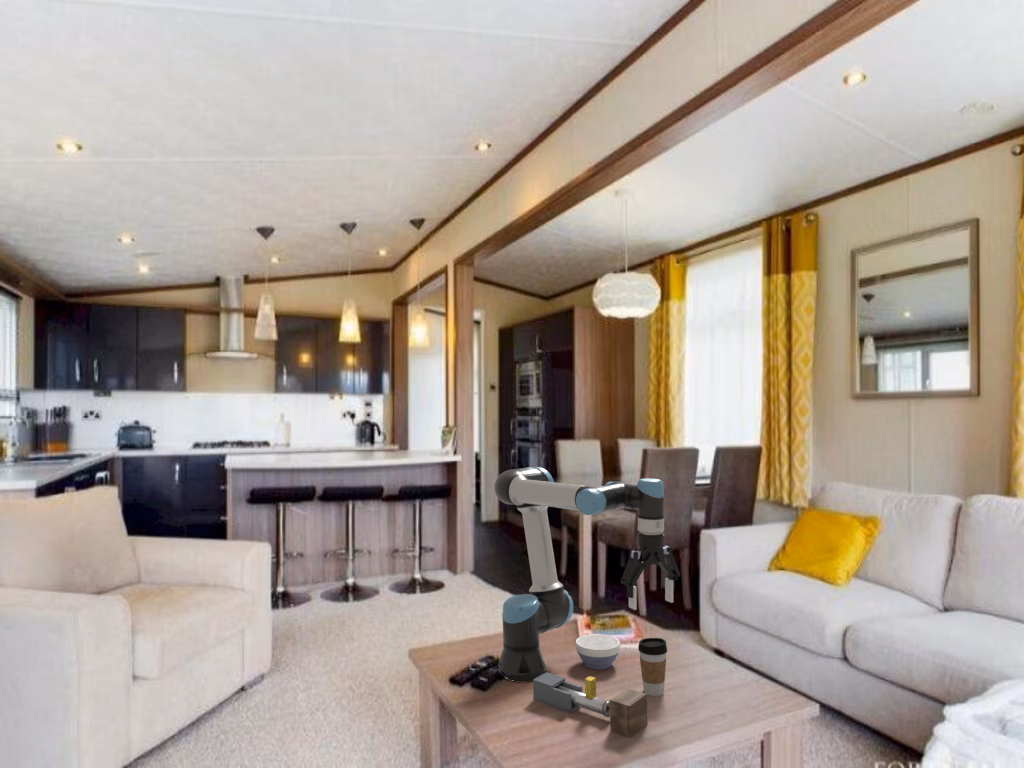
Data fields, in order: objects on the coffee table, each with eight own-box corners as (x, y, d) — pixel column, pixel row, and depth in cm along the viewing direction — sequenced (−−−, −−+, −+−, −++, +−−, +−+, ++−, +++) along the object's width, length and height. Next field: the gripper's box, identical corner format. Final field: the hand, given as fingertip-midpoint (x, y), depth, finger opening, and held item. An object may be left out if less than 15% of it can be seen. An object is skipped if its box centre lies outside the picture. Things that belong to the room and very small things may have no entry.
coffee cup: (668, 699, 191) (667, 647, 191) (639, 697, 192) (637, 645, 193) (667, 686, 199) (666, 636, 199) (639, 684, 201) (638, 635, 201)
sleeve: (533, 700, 192) (533, 679, 192) (547, 692, 197) (546, 672, 197) (569, 713, 183) (569, 691, 184) (582, 704, 188) (582, 683, 189)
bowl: (629, 664, 217) (628, 640, 217) (602, 677, 206) (601, 653, 206) (594, 652, 227) (593, 630, 227) (566, 665, 217) (566, 642, 217)
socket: (610, 730, 173) (609, 699, 174) (627, 717, 180) (627, 687, 181) (630, 737, 170) (629, 706, 170) (647, 724, 176) (646, 693, 177)
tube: (540, 697, 192) (540, 666, 192) (549, 692, 195) (548, 662, 195) (605, 719, 177) (604, 686, 178) (613, 714, 180) (612, 681, 181)
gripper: (624, 539, 184) (624, 615, 184) (692, 530, 195) (692, 602, 195) (608, 534, 191) (608, 607, 190) (675, 525, 202) (675, 594, 202)
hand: (651, 604), depth 193 cm, fingers open, 13 cm apart
